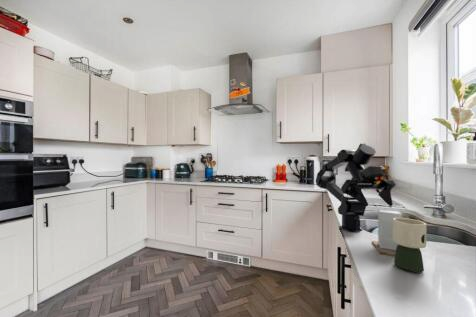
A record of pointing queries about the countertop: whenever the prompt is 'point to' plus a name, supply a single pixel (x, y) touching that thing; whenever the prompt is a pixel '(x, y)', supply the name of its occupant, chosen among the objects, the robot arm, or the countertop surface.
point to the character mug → (409, 243)
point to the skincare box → (387, 228)
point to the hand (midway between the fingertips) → (379, 205)
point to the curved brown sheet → (383, 251)
